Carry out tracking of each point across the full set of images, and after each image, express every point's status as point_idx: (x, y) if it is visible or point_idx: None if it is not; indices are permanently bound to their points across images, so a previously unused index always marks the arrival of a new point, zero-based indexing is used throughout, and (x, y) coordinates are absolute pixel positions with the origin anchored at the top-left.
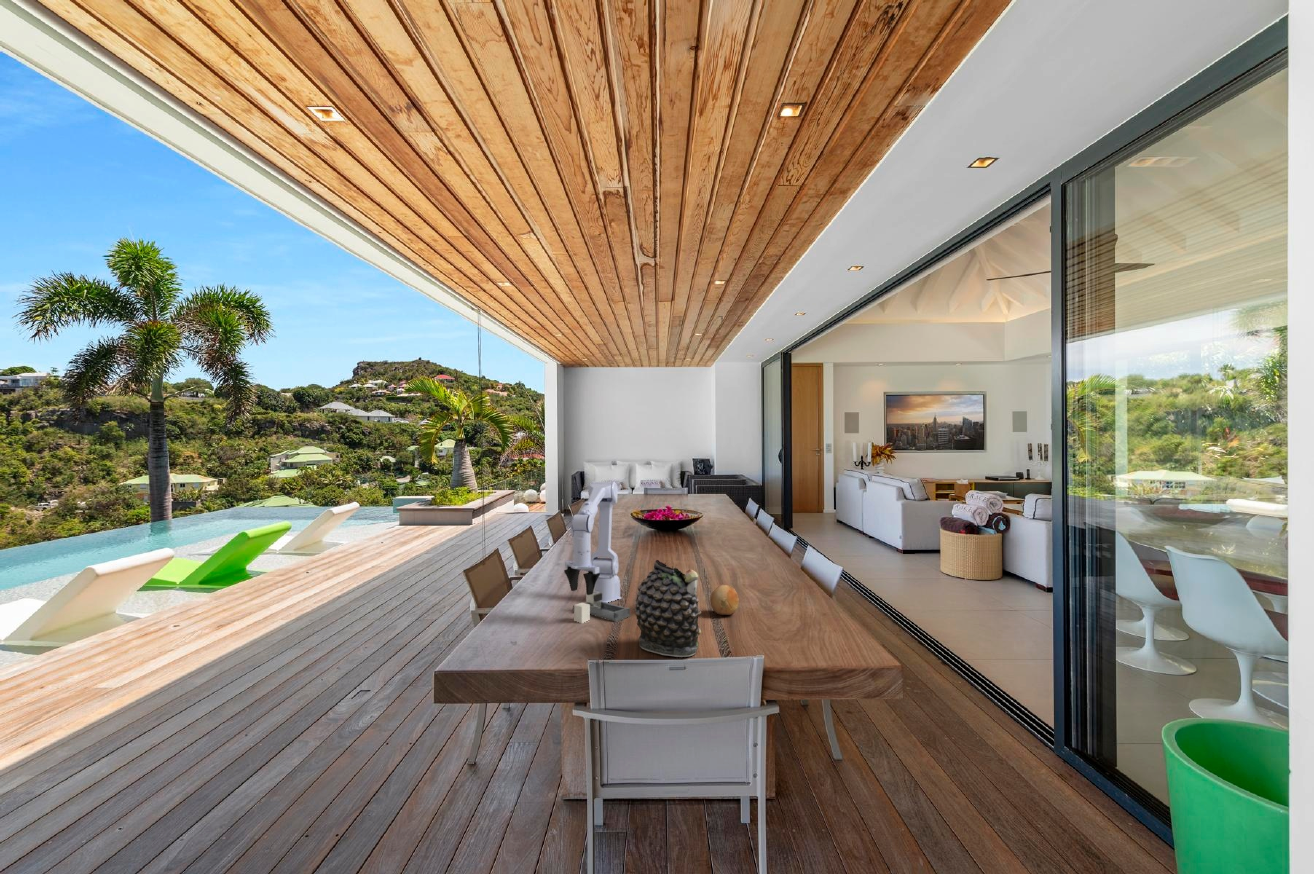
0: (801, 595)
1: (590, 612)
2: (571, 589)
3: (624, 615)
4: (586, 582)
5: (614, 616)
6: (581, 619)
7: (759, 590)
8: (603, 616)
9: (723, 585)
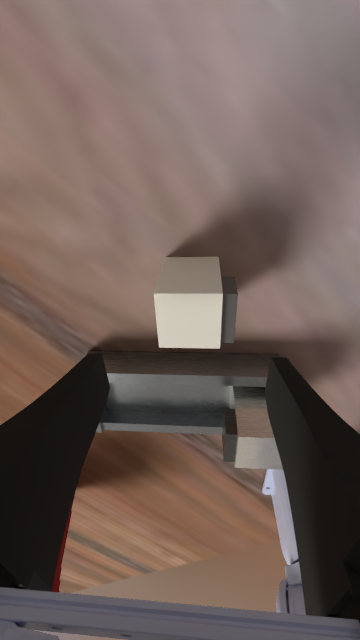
0: None
1: (228, 359)
2: (282, 362)
3: None
4: (29, 425)
5: None
6: (164, 263)
7: (81, 587)
8: (152, 356)
9: None
